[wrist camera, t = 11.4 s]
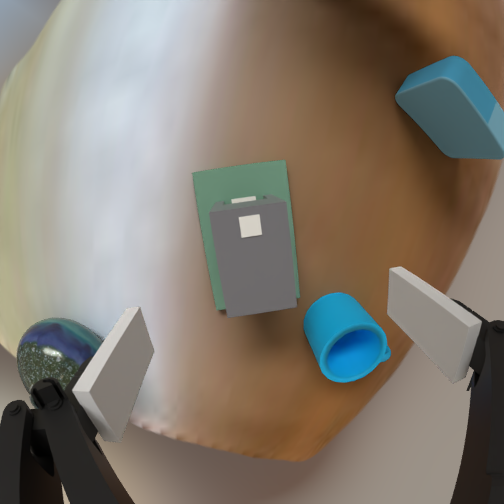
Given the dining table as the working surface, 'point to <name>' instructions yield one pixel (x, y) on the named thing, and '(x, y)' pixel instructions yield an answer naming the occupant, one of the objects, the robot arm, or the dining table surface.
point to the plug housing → (254, 255)
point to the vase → (54, 351)
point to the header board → (234, 191)
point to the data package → (454, 109)
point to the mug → (344, 338)
